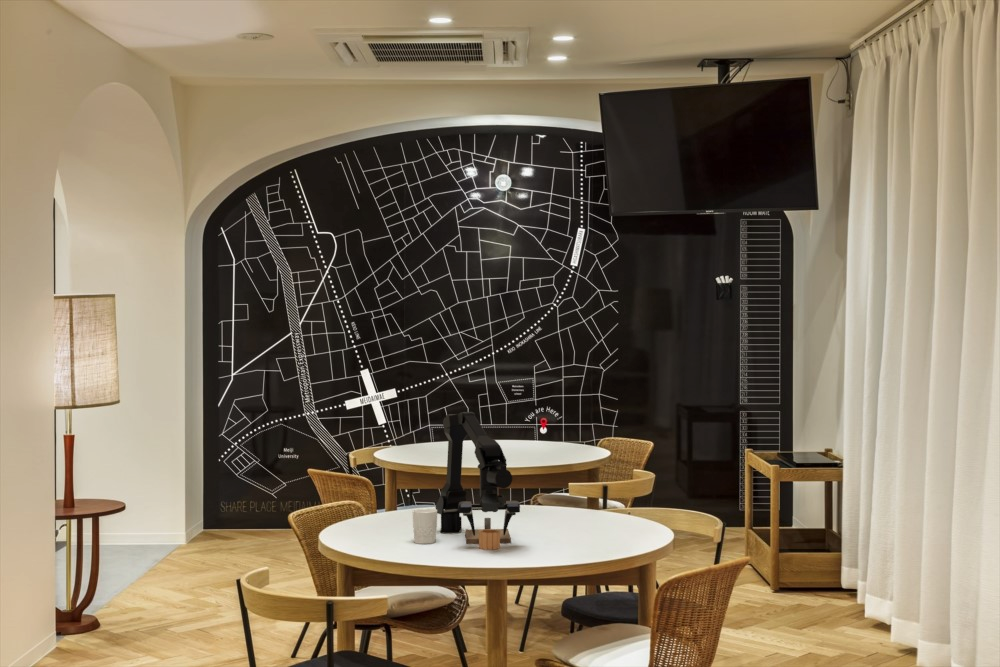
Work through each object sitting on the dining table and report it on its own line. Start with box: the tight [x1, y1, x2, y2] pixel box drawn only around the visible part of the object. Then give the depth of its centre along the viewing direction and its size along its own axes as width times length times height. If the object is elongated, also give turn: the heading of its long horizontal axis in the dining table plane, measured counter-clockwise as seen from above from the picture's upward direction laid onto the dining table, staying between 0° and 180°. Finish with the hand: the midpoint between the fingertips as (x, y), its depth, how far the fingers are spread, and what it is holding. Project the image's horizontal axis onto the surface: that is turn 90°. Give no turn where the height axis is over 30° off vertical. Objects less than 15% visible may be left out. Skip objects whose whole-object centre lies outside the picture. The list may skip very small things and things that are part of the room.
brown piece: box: [465, 517, 512, 545], centre depth 311 cm, size 14×16×6 cm
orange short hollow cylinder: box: [478, 528, 501, 551], centre depth 297 cm, size 6×6×5 cm
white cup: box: [412, 508, 438, 545], centre depth 306 cm, size 8×8×10 cm
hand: (489, 535), depth 297 cm, fingers open, 9 cm apart
